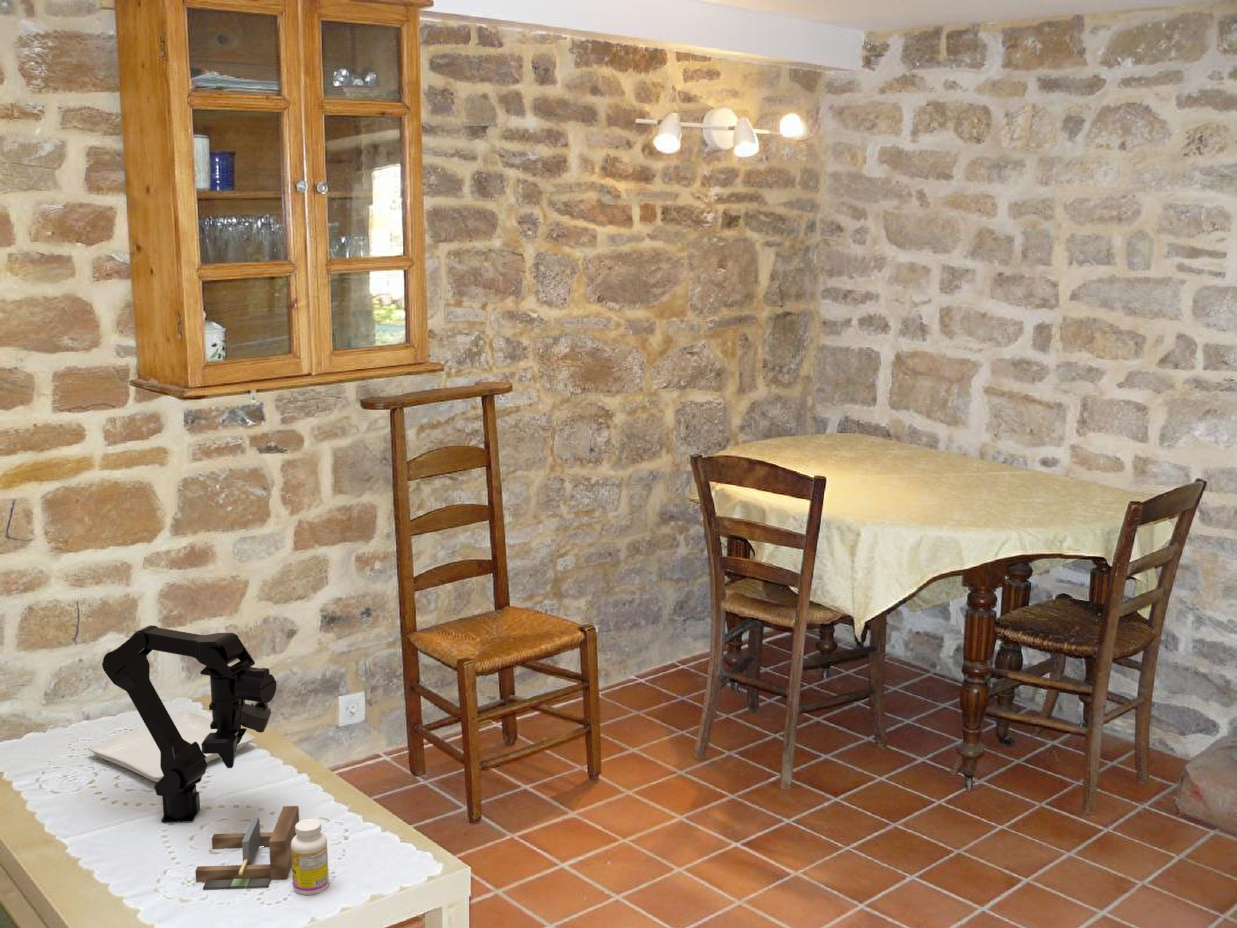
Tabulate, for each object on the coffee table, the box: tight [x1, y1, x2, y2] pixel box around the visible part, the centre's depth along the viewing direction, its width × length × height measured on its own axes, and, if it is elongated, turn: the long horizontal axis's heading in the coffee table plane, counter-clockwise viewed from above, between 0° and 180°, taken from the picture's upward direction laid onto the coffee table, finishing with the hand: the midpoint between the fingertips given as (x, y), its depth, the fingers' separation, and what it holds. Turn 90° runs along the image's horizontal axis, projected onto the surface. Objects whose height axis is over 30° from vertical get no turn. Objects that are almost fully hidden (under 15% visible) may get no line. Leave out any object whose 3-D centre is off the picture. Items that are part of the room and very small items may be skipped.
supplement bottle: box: [291, 818, 330, 896], centre depth 232 cm, size 7×7×13 cm
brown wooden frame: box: [195, 805, 300, 891], centre depth 240 cm, size 17×17×8 cm
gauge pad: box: [239, 816, 261, 875], centre depth 239 cm, size 1×15×6 cm, turn 4°
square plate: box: [87, 710, 256, 783], centre depth 290 cm, size 27×27×4 cm
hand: (230, 767), depth 254 cm, fingers closed
